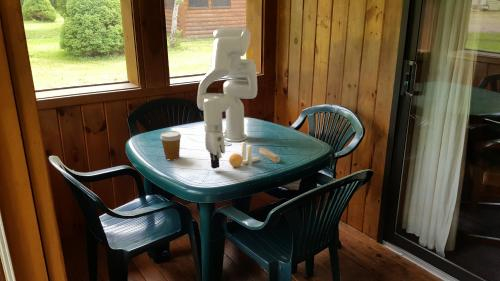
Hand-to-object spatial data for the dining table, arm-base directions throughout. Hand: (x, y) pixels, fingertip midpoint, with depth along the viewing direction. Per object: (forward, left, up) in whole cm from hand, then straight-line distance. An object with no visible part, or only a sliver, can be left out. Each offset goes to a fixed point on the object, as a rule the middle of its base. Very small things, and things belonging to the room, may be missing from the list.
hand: (215, 167), depth 176 cm
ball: (+6, +8, +2) cm, 10 cm away
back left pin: (+6, +15, -2) cm, 16 cm away
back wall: (+14, +24, -2) cm, 28 cm away
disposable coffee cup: (-26, +3, -2) cm, 27 cm away
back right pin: (+10, +13, -2) cm, 16 cm away
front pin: (+7, +11, -1) cm, 13 cm away
